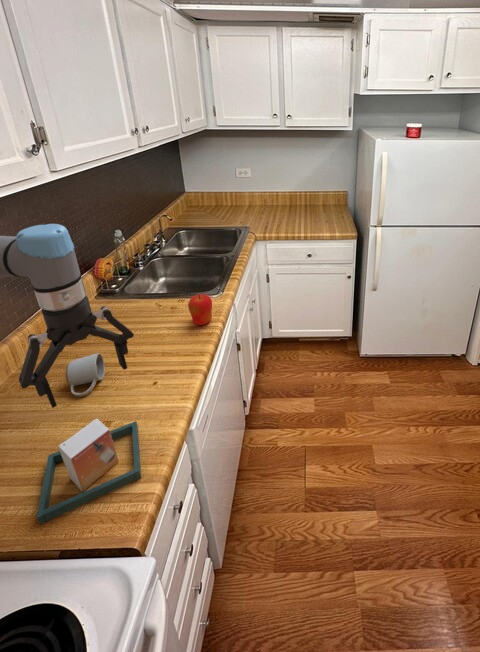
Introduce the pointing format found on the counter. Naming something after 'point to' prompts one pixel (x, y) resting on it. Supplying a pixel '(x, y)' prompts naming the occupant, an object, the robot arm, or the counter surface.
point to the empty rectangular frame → (96, 492)
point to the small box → (88, 454)
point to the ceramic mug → (85, 372)
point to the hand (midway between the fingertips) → (90, 383)
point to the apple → (200, 309)
